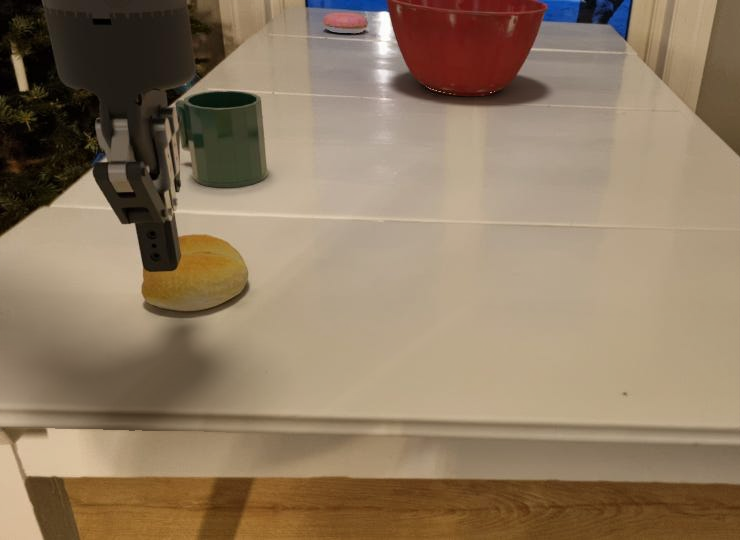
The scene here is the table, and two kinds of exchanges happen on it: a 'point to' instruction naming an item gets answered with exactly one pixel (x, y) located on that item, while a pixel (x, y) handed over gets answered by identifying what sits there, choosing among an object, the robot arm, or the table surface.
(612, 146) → the table surface
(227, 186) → the mug
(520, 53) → the mixing bowl
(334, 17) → the doughnut
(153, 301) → the bread roll
